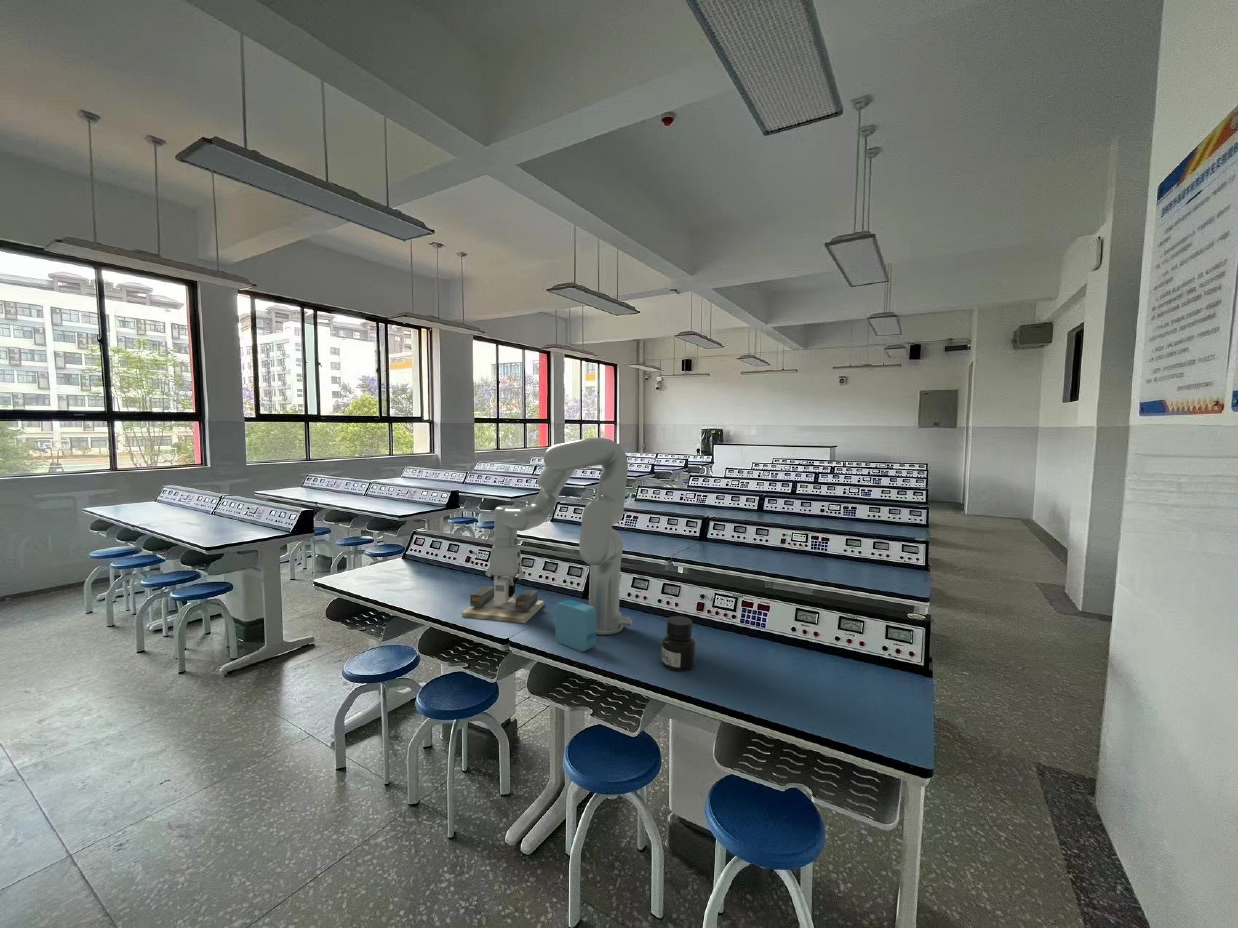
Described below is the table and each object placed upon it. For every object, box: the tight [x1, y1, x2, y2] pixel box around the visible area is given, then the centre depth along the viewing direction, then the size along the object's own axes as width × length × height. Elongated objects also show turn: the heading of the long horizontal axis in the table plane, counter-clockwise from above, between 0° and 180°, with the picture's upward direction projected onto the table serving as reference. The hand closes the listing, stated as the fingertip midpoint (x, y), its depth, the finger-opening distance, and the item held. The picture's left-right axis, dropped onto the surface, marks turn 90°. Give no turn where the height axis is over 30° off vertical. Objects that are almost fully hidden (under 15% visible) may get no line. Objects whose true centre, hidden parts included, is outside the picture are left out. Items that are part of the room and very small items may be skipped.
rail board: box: [461, 585, 545, 624], centre depth 172 cm, size 22×18×6 cm
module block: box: [493, 576, 516, 603], centre depth 172 cm, size 4×8×7 cm, turn 169°
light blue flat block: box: [555, 598, 597, 653], centre depth 146 cm, size 12×4×12 cm, turn 52°
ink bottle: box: [661, 615, 696, 671], centre depth 135 cm, size 10×9×12 cm
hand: (504, 594), depth 172 cm, fingers closed on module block, 4 cm apart
